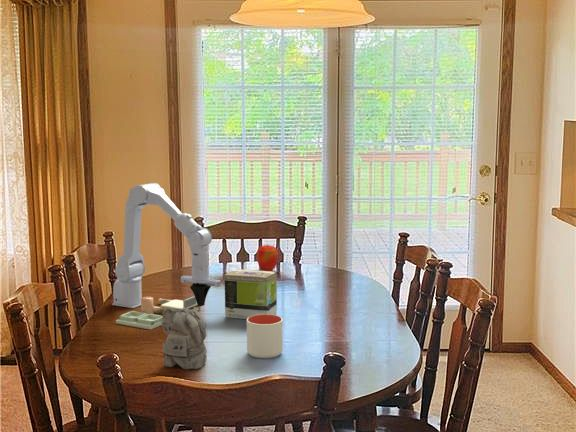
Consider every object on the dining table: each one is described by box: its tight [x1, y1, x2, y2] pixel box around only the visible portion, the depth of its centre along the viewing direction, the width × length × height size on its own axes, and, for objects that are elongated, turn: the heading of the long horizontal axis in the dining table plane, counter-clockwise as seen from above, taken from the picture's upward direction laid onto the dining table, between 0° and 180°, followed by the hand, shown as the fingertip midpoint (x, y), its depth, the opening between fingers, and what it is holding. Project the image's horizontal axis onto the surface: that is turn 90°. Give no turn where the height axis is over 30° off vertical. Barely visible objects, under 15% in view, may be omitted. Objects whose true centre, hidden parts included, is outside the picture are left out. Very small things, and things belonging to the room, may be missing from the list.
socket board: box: [115, 310, 163, 331], centre depth 221 cm, size 14×9×2 cm, turn 63°
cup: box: [246, 314, 284, 359], centre depth 192 cm, size 10×10×10 cm
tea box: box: [224, 268, 278, 320], centre depth 228 cm, size 15×10×15 cm
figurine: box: [161, 308, 208, 370], centre depth 184 cm, size 10×11×15 cm
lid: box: [160, 295, 197, 310], centre depth 234 cm, size 10×8×3 cm
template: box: [153, 298, 201, 315], centre depth 236 cm, size 17×10×2 cm, turn 63°
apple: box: [256, 244, 279, 271], centre depth 294 cm, size 9×9×12 cm
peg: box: [140, 296, 155, 314], centre depth 229 cm, size 4×4×6 cm
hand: (200, 305), depth 230 cm, fingers closed
